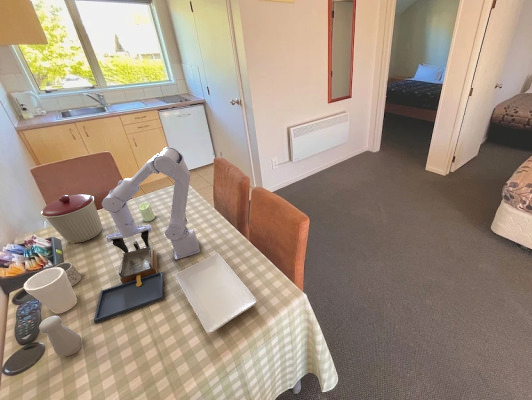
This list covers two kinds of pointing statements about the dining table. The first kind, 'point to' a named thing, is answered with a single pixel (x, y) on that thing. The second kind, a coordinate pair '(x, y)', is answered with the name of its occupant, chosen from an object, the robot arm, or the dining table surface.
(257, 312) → the dining table surface
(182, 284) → the tray
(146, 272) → the shallow wooden box
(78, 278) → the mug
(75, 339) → the salt shaker
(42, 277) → the foam cup
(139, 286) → the key
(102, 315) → the tray
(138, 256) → the dish
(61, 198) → the canister
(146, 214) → the candle
